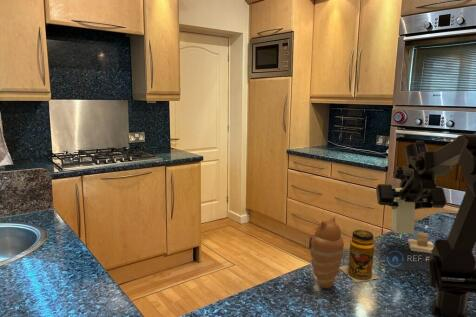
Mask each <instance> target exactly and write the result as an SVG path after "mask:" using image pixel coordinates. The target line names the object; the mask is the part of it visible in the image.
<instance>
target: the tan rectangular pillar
mask: <svg viewBox="0 0 476 317" xmlns="http://www.w3.org/2000/svg"><path fill="white" fill-rule="evenodd" d="M392 189H396V192H400V190H401V189H402V188H394V187H392ZM415 213H416V210H415V202H405V201H404V200H399V201H398V207H397V208H395V209H392V208H391V228H392V230H393V231H394V233H395V234H401V235H402V234H409V235H411V234H412V235H413V234H415V221H416V220H415V219H416V218H415V215H416V214H415Z"/></svg>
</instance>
